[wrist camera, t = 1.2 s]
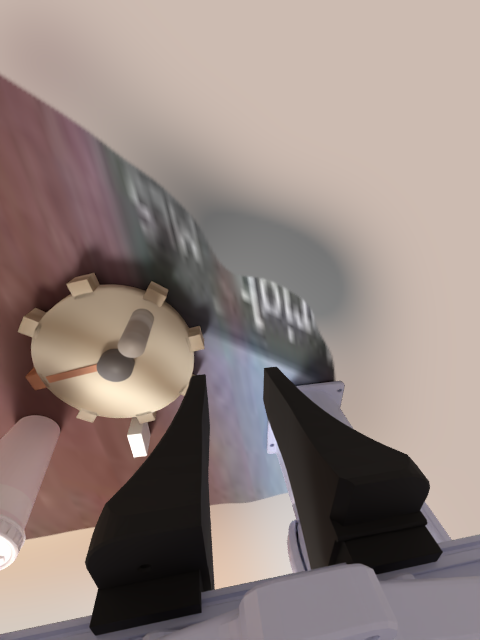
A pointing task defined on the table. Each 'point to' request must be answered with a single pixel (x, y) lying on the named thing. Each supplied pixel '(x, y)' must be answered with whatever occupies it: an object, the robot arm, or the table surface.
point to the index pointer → (139, 437)
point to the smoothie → (22, 478)
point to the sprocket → (112, 350)
